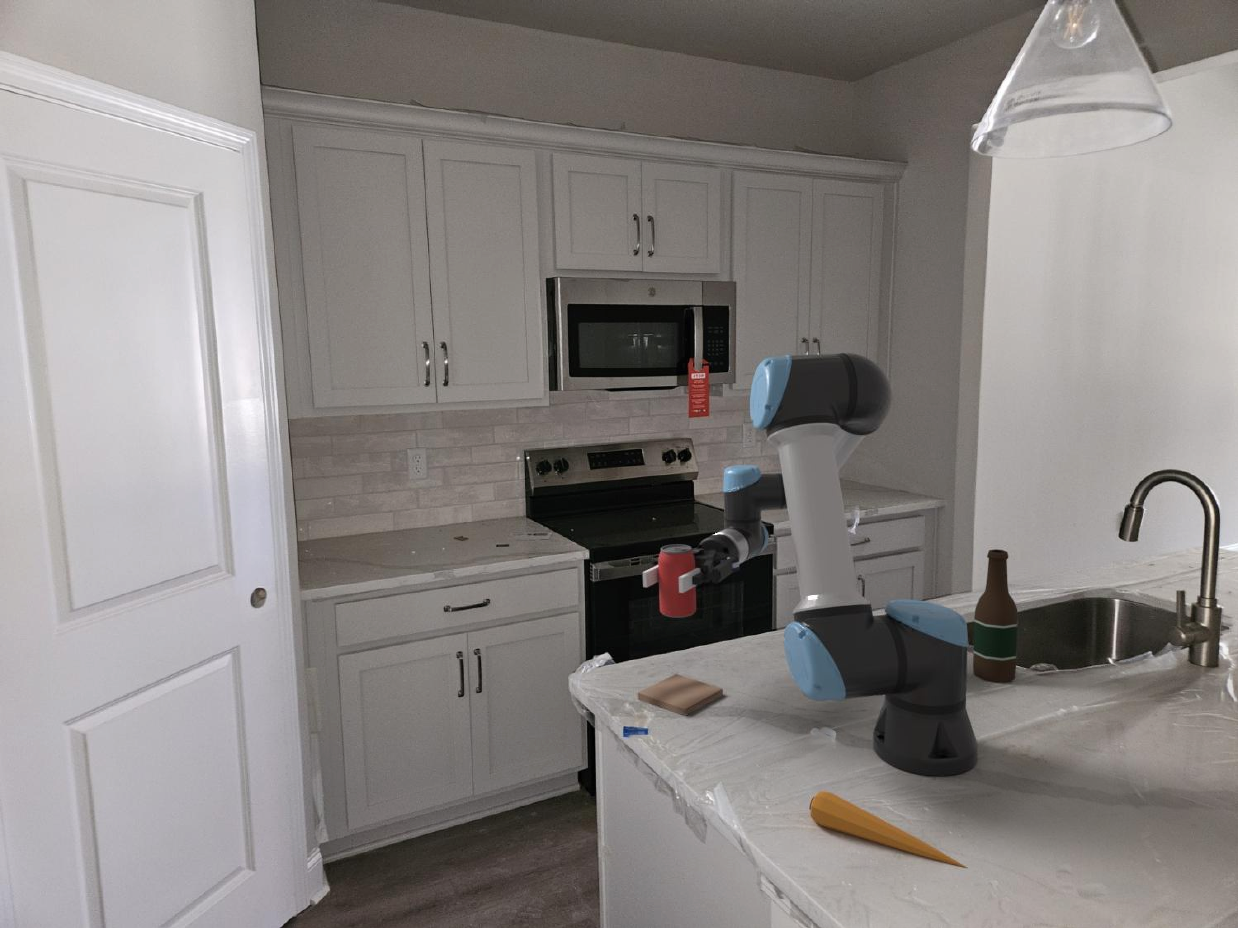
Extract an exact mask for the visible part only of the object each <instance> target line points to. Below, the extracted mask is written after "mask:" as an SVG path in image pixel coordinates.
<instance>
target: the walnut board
mask: <svg viewBox="0 0 1238 928" xmlns="http://www.w3.org/2000/svg"><path fill="white" fill-rule="evenodd" d="M721 695H722V696H723V695H724V689H723V688H722V687H720V686H719V687H718V686H716V685H713V684H709V683H706V682H703V681H699V680H696V679H693V678H691V677H687V676H684V675H681V674H678V673H675V674H672V675H671V676H669V677H666V678H665V679H663V680H661V681H659V682H657V683H655V684H653V685H651V686H648V687H646V688H645V689H642V690H640V691H638V692H637V699H638V700H640V701H643V702H645V703H649V704H651V705H654V706H656V705H658V706H657V707H659V706H660V707H659V708H662V709H665V710H667V709H668V711H670V710H671V712H673V711H674V712H673V713H676V714H679V715H681V714H683V715H682V716H684V715H686V714H687V715H689V714H692V713H693V712H694V711H693V710H695V709H696V710H699V709H700V708H702V707H704V706H705V705H707V704H709V703H711V702H713V701H714V700H716V699H718V698H720V697H722V696H721ZM719 696H720V697H719ZM712 700H713V701H712ZM703 705H704V706H703ZM696 710H695V711H696ZM692 711H693V712H692ZM687 715H686V716H687Z"/></svg>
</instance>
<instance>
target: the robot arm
mask: <svg viewBox="0 0 1238 928" xmlns="http://www.w3.org/2000/svg"><path fill="white" fill-rule="evenodd" d="M892 394H893V393H892V387H891V383H890V381H889V378H888V377H887V375H886V373H885V371H883V369H882V368H881V367H880V366H879V365H878V364H877V363H876V362H875V361H873V360H872V359H870V358H868V357H866V356H863V355H861V354H857V353H853V352H852V353H851V352H842V353H827V354H826V353H824V354H823V353H822V354H819V353H818V354H795V355H792V354H786V355H782V356H781V355H780V356H771V357H768V358H765V359H764V360H762V361H760V363H759V365H758V366H757V368H756V370H755V372H754V375H753V379H752V384H751V388H750V396H749V413H750V420H751V422H752V425H753V427H754V428H755V429H757V430H759V431H764V430H765V433H766V439H767V444H769V445H770V446H772V447H773V448H775V449H776V450H777V451H778V455H779V463H780V468H781V473H780V472H777V473H774V472H773V473H762V472H761V468H760V467H759V466H758V465H753V464H735V465H731V466H727V467H726V468H725V470H724V472H723V487H722V491H723V509H724V510H723V511H724V513H723V514H724V519H723V521H724V522H723V523H724V524H723V525H724V529H723V530H720V531H719V532H717V533H716V532H715V534H712V535H710V536H708V537H705V538H704V539H703V540H701V541H700V543H699V544H698V546H697V548H696V549H694V550H692V553H693V555H694V559H695V569H694V570H692V571H690V572H688V573H686V574H684V575H682V576H680V577H679V593H684V592H686V591H688V590H689V589H691V588H693V587H695V586H696V587H697V586H699V585H701V584H702V583H703V584H707V583H709V582H710V581H712V583H713V584H719V583H721V582H722V581H723V580H724V579H726V578H727V577H728V576H729V575H731V574H733V573H736V572H739V571H740V564H742V563H745V561H748V560H749V559H750V560H751V559H752V558H755V557H756V556H758V555H759V554H760V553H761V552H762V551H763V550H765V549H766V547H767V546H768V542H769V537H770V536H769V532H768V530H767V528H766V526H765V524H764V523H763V522H762V511H764V512H766V511H776V510H787V514H788V519H789V520H788V521H789V527H790V533H791V535H790V536H791V541H792V547H793V553H794V560H795V566H796V573H797V574H796V575H797V580H798V587H799V593H800V602H799V603H798V604H797V605H796V607H795V608H794V609H793V611H792V616H793V621H792V622H790V623H789V624H787V625H786V627H785V629H784V631H783V632H784V633H783V638H784V641H783V647H784V648H783V649H784V654H785V659H786V662H787V665H788V666H787V667H788V668H789V671H790V673H791V676H792V678H793V681H794V682H795V684H796V685H797V687H798V688H799V690H800V692H801V693H802V694H804V695H805V697H807V698H808V699H810V700H813V701H816V702H824V701H825V702H826V701H835V702H841V701H844V700H850V699H858V698H870V697H876V696H877V697H878V696H884V702H883V704H882V707H881V709H880V712H879V715H878V718H877V720H876V723H875V725H874V728H873V732H872V733H873V734H872V747H873V750H874V752H875V754H876V755H877V757H879V758H880V759H881V760H883V761H884V762H886V763H887V764H889V765H890V766H893V767H895V768H897V769H900V770H903V771H906V772H910V773H914V774H919V775H926V776H940V777H942V776H953V775H958V774H962V773H965V772H967V771H969V770H971V769H973V767H975V765H976V764H977V763H978V747H979V746H978V742H977V739H976V735H975V732H974V729H973V726H972V722H971V720H970V719H971V718H970V717H969V713H968V711H967V683H968V682H967V680H968V679H967V678H968V677H967V675H968V647H969V645H970V642H969V636H968V625H967V622H966V619H965V618H964V616H963V615H962V614H961V613H959V612H958V611H956V610H953V609H951V608H949V607H948V606H944V605H941V604H938V603H933V602H929V601H923V600H918V599H906V598H904V599H903V598H902V599H901V598H899V599H892V600H891V601H889V602H887V603H886V604H885V608H884V613H885V614H880V615H874V613H873V608H872V603H871V602H870V600H869V599H867V598H866V597H864V596H862V595H861V594H860V592H859V587H858V583H857V582H858V581H857V576H856V570H855V564H854V559H853V553H852V546H851V541H850V535H849V529H848V523H847V517H846V511H845V505H844V501H843V495H842V488H841V483H840V477H839V470H840V469H841V468H842V467H843V465H844V464H845V463H846V462H847V460H848V459H849V458H850V456H851V455H852V453H854V452H855V450H856V449H857V447H858V446H859V444H861V442H862V441H863V440H864V438H865V437H866V436H869V435H872V434H874V433H875V432H876V431H878V430H879V428H880V427H881V426H882V424H883V423H884V422H885V421H886V419H887V417H888V415H889V413H890V410H891V407H892V401H893V400H892V398H893V395H892ZM658 559H659V557H657V558H654V559H652V560H650V567H651V568H649V569H647V570H644V571H642V587H643V588H649V587H651V586H653V585H655V584H657V583H659V569H658Z"/></svg>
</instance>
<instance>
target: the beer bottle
mask: <svg viewBox="0 0 1238 928" xmlns="http://www.w3.org/2000/svg"><path fill="white" fill-rule="evenodd" d="M986 558H987V559H988V562H987V563H988V564H987V574H986V584H985V590H984V592H983V593H982V594H981V595H980V597H979V599H978V601H977V604H976V606H975V609H974V610H975V611H974V620H973V651H972V652H973V655H972V656H973V657H972V658H973V659H972V661H973V662H972V669H973V670H972V671H973V675H974V676H975V677H977V678H978V679H980V680H982V681H985V682H989V683H998V684H1006V683H1010V682H1014V681H1015V680H1016V672H1017V659H1018V658H1017V653H1018V652H1017V651H1018V627H1019V626H1018V624H1019V618H1018V608H1017V605H1016V602H1015V600H1014V599H1013V597H1012V596H1011V594H1010V592H1009V591H1010V590H1009V585H1008V559H1009V554H1008V551H1006V550H1003V549H995V548H994V549H989V550H988V552H987V555H986Z"/></svg>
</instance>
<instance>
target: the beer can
mask: <svg viewBox="0 0 1238 928" xmlns="http://www.w3.org/2000/svg"><path fill="white" fill-rule="evenodd" d="M692 549H693V548H692V546H690V545H687V544H681V543H680V544H678V543H676V544H668V545H664V546H662V547H661V548H660V552H659V555H658V558H659V559H658V569H659V582H658V588H659V589H658V592H659V593H658V596H659V612H660V613H661V614H662V615H663V616H665V617H668V618H675V619H677V618H679V619H681V618H687V617H690V616H692V615H694V614H695V613H696V612H697V592H696V591H697V590H696V589H697V586H695V587H693V588H691V589H689V590H688V591H686V592H684V593H679V577H680V576H682V575H684V574H686V573H688V572H690V571H692V570H694V569H695V559H694V555H693V553H692V551H693V550H692Z"/></svg>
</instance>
